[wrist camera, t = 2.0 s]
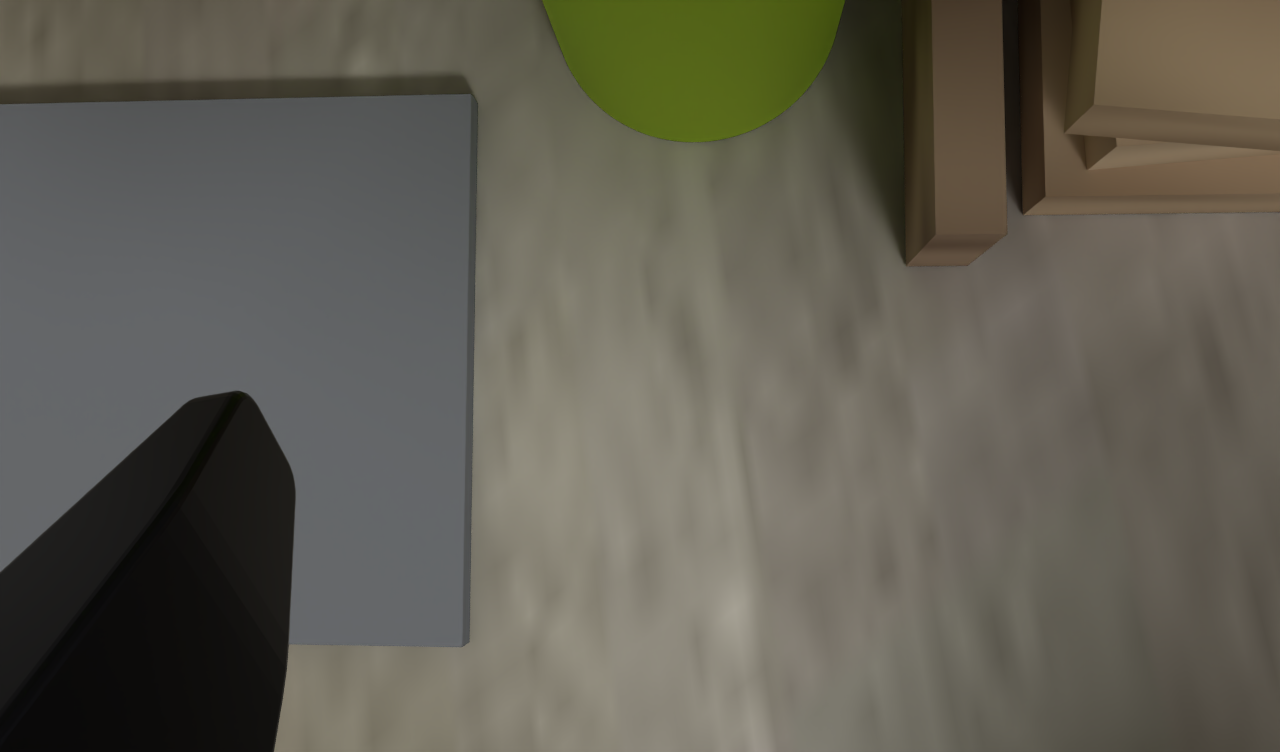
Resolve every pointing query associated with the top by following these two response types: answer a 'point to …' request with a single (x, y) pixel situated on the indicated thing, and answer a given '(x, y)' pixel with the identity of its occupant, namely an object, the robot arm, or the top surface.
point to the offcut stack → (1149, 106)
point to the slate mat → (256, 325)
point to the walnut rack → (953, 130)
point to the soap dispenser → (694, 60)
